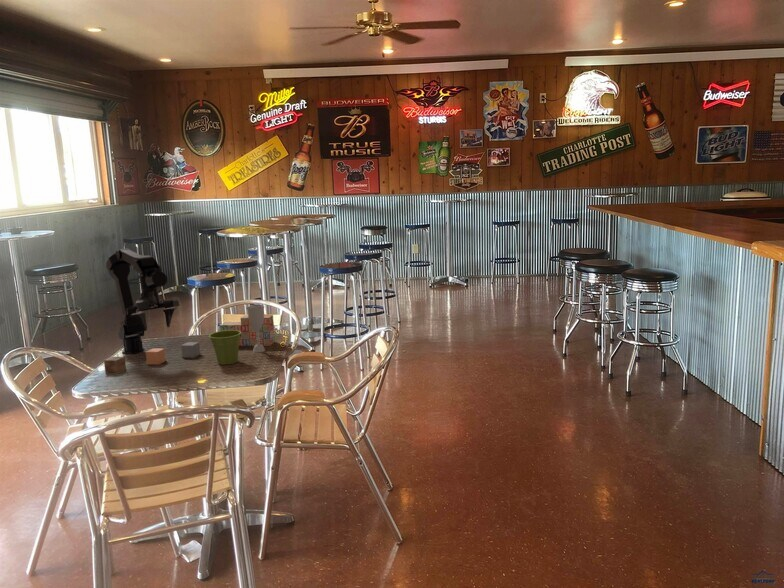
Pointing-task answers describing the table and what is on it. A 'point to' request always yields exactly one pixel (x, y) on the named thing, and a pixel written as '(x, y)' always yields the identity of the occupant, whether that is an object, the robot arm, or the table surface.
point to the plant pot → (226, 346)
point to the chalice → (256, 323)
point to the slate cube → (190, 349)
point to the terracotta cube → (155, 356)
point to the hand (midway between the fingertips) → (157, 328)
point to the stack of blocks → (252, 331)
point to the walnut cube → (115, 364)
